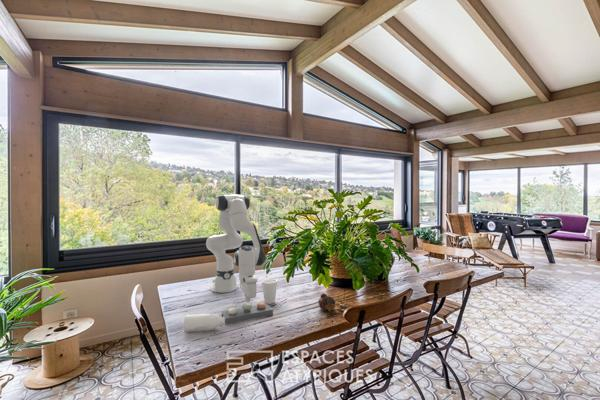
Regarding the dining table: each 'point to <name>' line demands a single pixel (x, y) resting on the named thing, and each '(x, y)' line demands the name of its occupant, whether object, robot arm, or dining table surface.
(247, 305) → the sage button
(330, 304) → the decorative turtle
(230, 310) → the white round dome
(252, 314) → the console
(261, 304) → the orange rounded lump
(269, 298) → the foam cup
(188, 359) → the dining table surface
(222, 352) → the dining table surface
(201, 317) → the white plastic bottle
